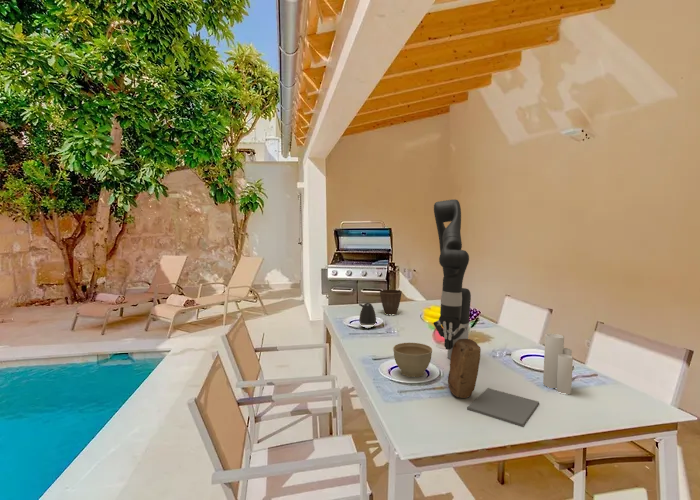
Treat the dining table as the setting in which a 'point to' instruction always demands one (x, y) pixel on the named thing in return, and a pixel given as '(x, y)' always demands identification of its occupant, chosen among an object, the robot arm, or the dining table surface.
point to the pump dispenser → (367, 314)
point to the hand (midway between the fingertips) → (448, 348)
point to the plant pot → (390, 300)
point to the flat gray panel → (504, 406)
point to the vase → (557, 364)
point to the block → (464, 367)
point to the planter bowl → (412, 358)
